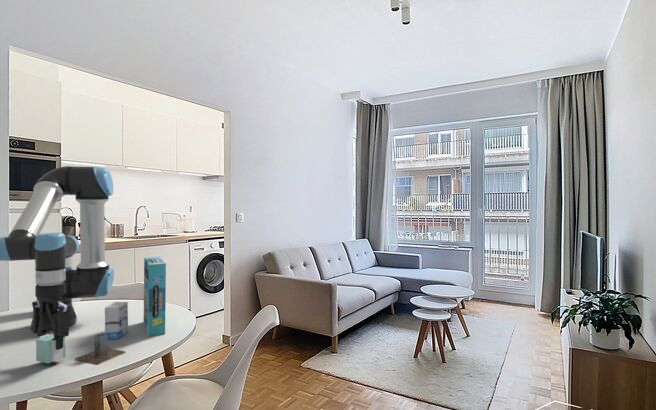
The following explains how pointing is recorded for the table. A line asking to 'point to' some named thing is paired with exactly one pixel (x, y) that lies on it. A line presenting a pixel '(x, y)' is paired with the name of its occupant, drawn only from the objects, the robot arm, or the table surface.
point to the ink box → (116, 319)
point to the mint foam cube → (46, 349)
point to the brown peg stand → (100, 351)
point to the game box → (154, 295)
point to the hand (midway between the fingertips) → (50, 357)
